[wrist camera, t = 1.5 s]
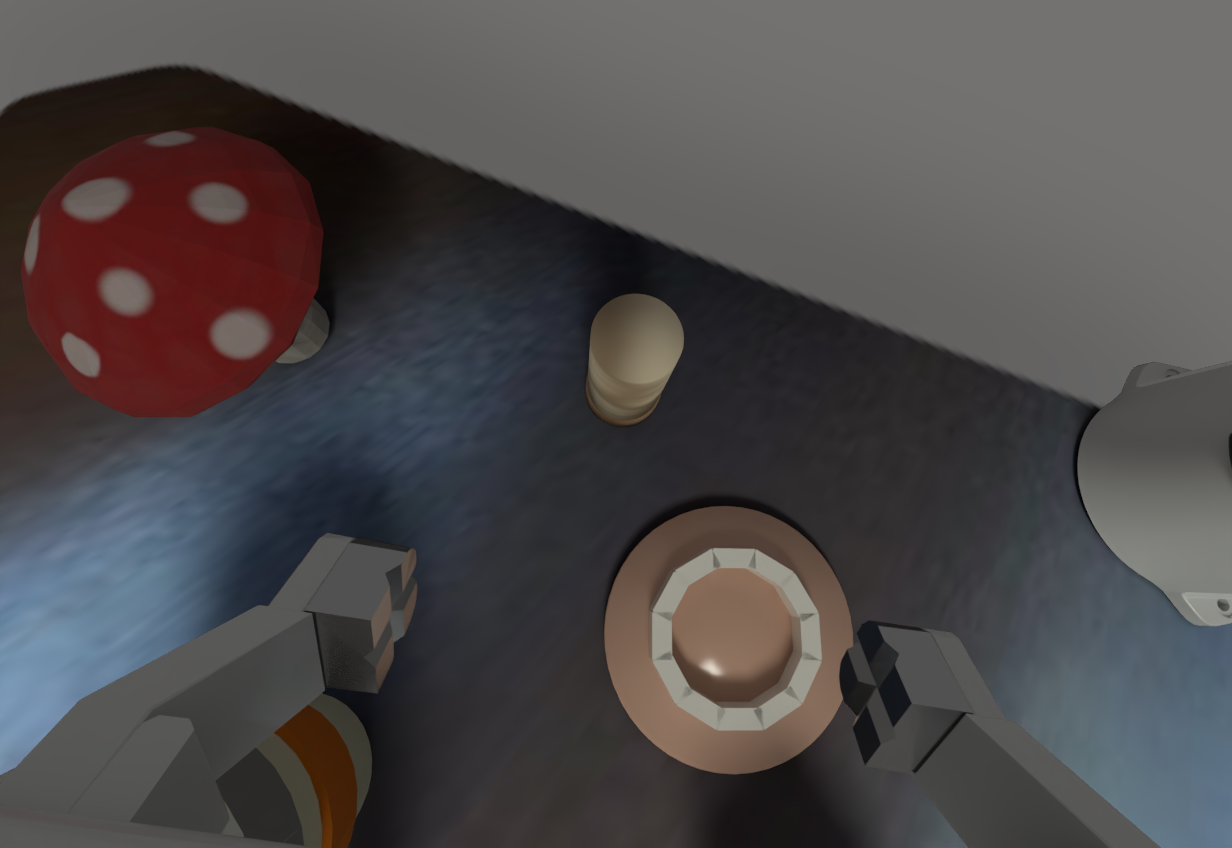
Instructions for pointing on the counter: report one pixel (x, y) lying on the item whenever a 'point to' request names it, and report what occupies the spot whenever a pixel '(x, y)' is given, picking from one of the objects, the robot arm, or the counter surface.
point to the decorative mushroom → (175, 270)
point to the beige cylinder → (631, 358)
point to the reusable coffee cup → (301, 779)
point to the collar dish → (727, 639)
